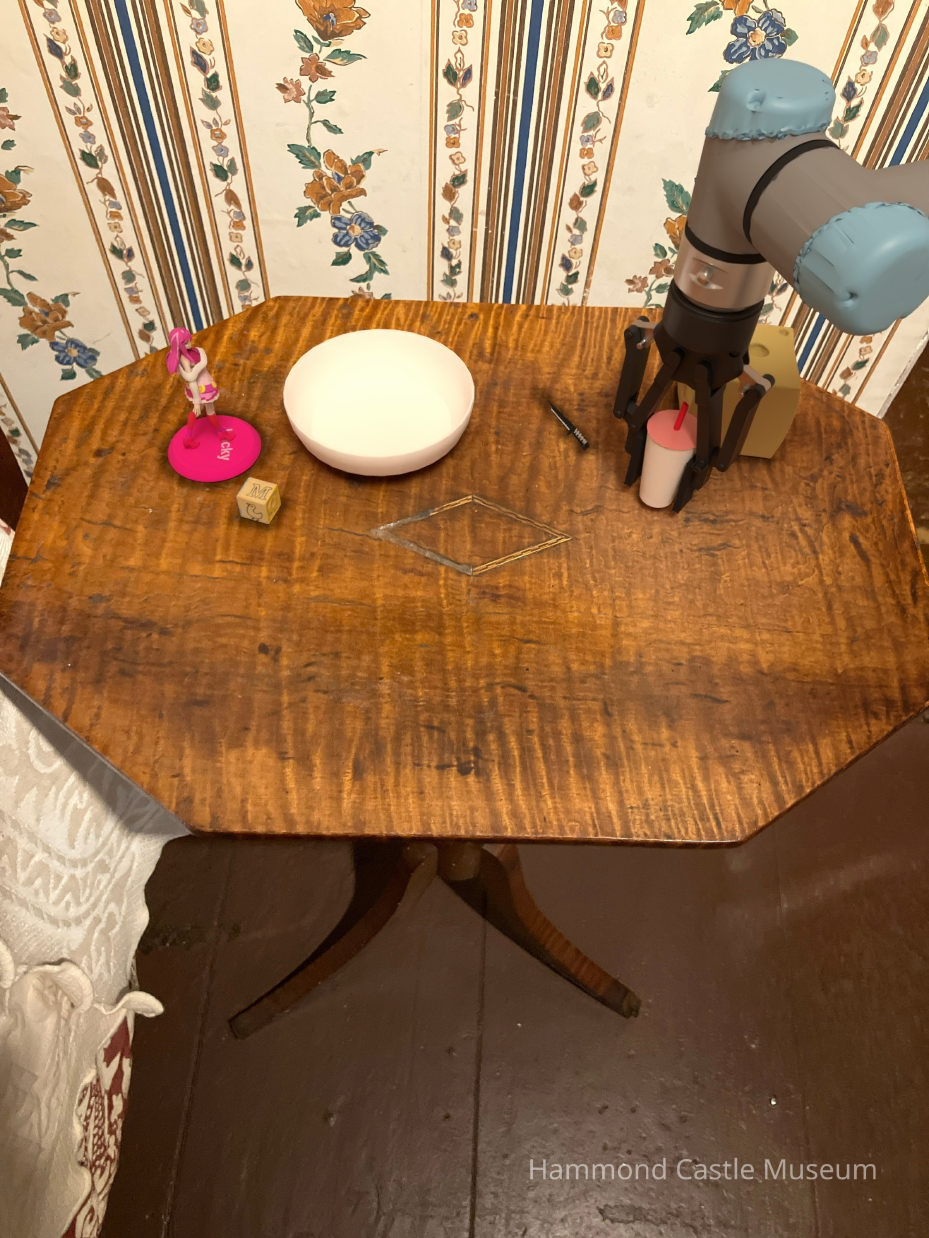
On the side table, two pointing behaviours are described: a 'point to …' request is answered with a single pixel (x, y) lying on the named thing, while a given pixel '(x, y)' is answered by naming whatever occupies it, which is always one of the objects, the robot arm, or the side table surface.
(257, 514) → the alphabet block
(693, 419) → the cup
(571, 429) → the knife
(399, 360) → the bowl
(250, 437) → the figurine
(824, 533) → the side table surface
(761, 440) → the cheese
